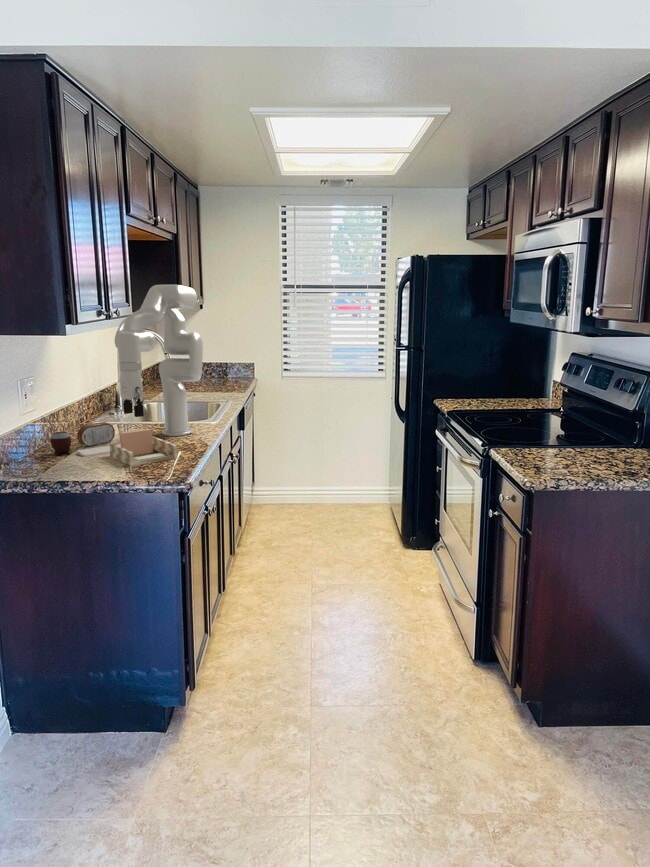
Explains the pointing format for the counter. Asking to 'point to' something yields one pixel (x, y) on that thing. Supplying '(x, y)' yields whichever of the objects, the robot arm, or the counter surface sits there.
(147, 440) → the sheet
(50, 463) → the counter surface
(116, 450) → the rack
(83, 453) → the mat
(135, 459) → the offcut upper
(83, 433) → the tin
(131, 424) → the counter surface
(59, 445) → the mate gourd
